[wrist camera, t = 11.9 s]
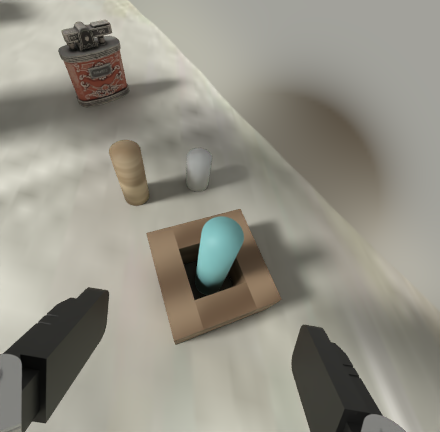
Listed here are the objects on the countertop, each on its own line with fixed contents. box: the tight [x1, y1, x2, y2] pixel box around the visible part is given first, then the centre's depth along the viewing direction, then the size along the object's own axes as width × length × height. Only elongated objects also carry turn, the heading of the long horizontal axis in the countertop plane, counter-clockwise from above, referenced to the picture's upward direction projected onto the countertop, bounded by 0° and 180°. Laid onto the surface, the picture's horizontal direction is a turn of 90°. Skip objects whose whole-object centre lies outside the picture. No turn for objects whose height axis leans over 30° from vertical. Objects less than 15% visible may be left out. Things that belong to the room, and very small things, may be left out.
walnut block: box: [147, 209, 282, 345], centre depth 26 cm, size 10×10×5 cm
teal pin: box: [195, 216, 244, 295], centre depth 23 cm, size 3×3×12 cm
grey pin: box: [186, 148, 212, 192], centre depth 33 cm, size 3×3×5 cm
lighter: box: [58, 20, 129, 107], centre depth 36 cm, size 8×3×10 cm, turn 129°
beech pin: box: [109, 140, 149, 206], centre depth 29 cm, size 3×3×8 cm
